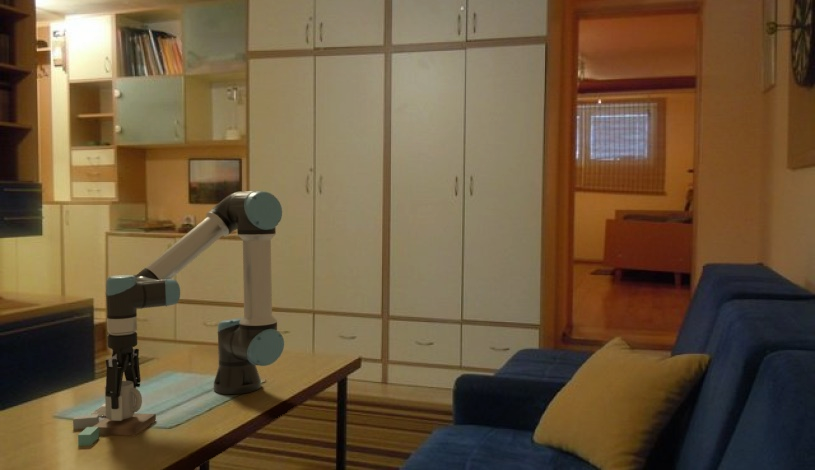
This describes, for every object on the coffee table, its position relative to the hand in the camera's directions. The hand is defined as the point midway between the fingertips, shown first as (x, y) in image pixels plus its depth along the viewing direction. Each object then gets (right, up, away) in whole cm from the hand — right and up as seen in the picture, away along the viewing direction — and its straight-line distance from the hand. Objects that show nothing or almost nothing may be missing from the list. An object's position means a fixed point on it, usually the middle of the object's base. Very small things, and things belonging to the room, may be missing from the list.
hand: (124, 415), depth 188 cm
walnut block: (0, -3, 0) cm, 3 cm away
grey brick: (-11, -4, +1) cm, 12 cm away
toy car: (-8, -3, +13) cm, 16 cm away
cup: (0, -1, 0) cm, 1 cm away
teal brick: (-5, -4, -10) cm, 12 cm away
